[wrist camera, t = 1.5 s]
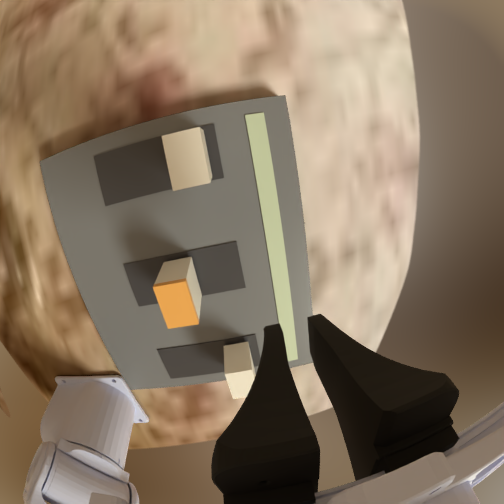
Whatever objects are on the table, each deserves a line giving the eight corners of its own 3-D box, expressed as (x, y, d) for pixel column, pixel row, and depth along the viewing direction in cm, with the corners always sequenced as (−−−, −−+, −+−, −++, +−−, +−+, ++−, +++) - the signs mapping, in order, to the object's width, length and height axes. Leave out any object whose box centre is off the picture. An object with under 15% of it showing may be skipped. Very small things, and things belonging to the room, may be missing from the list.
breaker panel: (133, 379, 26) (123, 418, 21) (49, 159, 17) (9, 167, 13) (311, 351, 26) (327, 390, 21) (280, 98, 18) (300, 84, 13)
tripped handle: (175, 299, 20) (168, 328, 17) (163, 262, 19) (152, 287, 16) (201, 294, 21) (198, 324, 17) (191, 256, 19) (185, 281, 16)
